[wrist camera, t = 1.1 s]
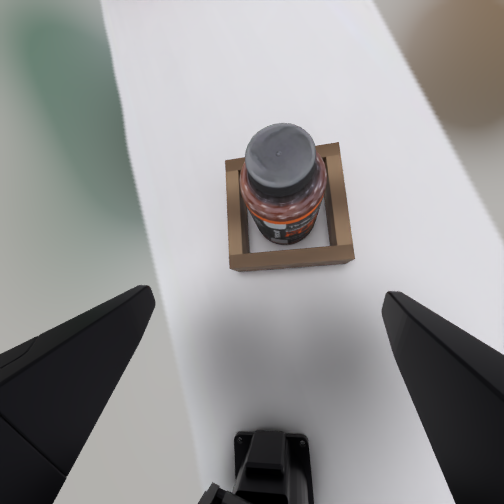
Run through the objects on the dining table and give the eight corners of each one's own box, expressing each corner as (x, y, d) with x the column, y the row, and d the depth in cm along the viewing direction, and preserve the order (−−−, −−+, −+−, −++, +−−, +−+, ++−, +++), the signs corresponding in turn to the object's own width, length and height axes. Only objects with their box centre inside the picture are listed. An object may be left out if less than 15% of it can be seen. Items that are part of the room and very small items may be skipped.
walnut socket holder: (345, 263, 22) (354, 258, 18) (239, 271, 24) (229, 268, 20) (332, 163, 24) (338, 142, 20) (234, 177, 25) (225, 160, 22)
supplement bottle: (292, 257, 23) (290, 227, 12) (246, 225, 24) (205, 171, 13) (327, 209, 23) (357, 136, 12) (279, 180, 24) (267, 90, 14)
